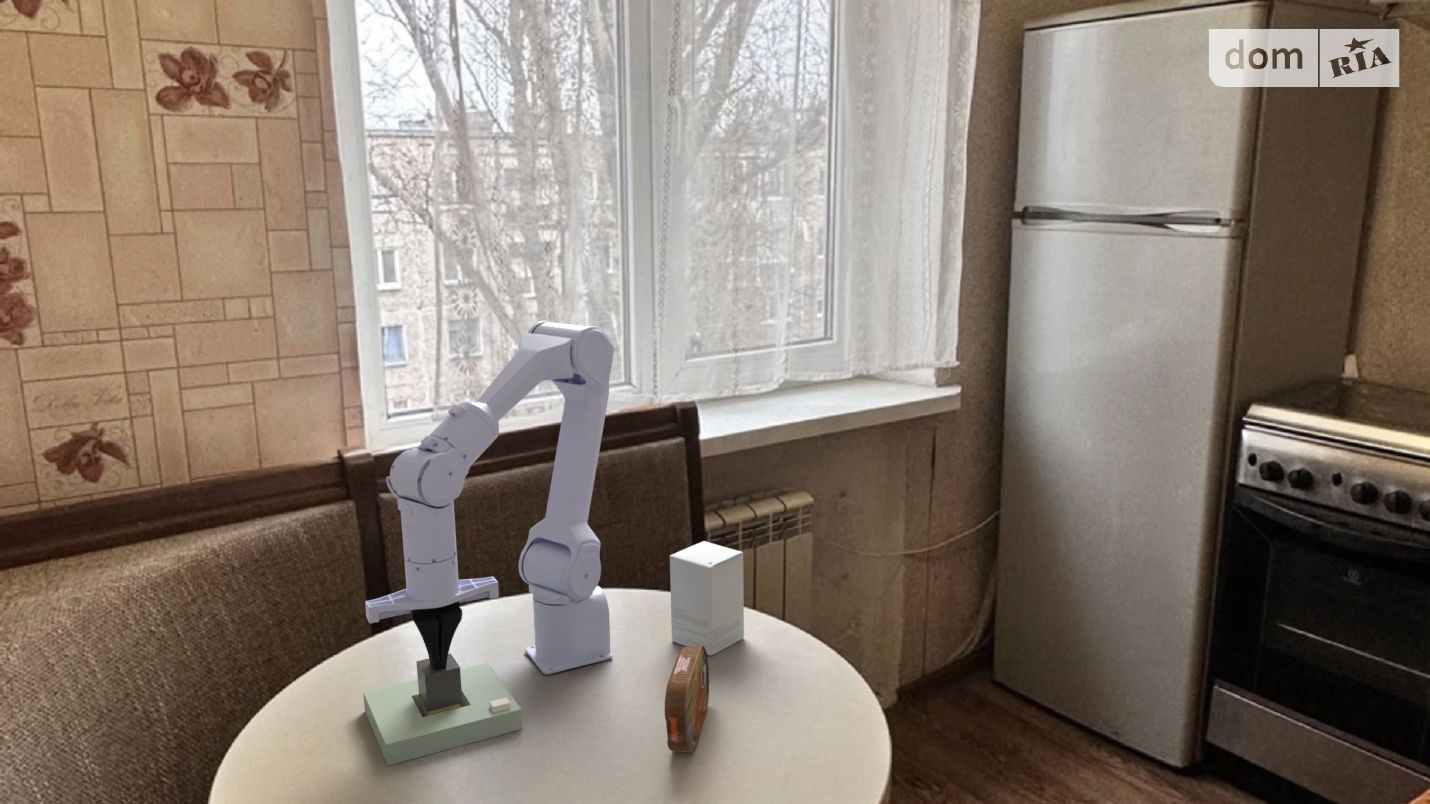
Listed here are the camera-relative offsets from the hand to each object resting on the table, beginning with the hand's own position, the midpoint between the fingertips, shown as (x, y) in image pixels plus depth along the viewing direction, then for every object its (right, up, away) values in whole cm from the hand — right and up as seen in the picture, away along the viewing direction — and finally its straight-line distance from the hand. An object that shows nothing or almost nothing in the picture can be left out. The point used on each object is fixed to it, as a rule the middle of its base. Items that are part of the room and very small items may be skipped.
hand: (438, 666), depth 115 cm
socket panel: (0, -7, +1) cm, 7 cm away
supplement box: (+31, -2, +22) cm, 38 cm away
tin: (+29, -7, -1) cm, 30 cm away
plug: (0, -7, +2) cm, 7 cm away
